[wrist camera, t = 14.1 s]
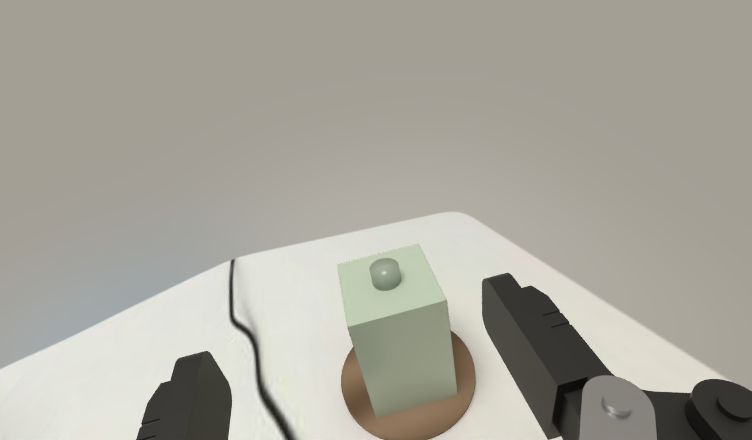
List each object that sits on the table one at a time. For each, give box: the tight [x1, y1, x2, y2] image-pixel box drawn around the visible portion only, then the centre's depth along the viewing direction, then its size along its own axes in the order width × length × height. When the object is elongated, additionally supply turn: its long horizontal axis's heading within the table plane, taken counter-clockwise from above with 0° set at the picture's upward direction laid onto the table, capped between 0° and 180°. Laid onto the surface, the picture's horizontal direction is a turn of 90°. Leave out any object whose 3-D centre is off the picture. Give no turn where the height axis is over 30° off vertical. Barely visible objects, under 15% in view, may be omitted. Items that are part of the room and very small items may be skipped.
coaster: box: [341, 330, 475, 440], centre depth 33 cm, size 11×11×1 cm
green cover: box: [337, 243, 457, 418], centre depth 29 cm, size 6×6×11 cm
